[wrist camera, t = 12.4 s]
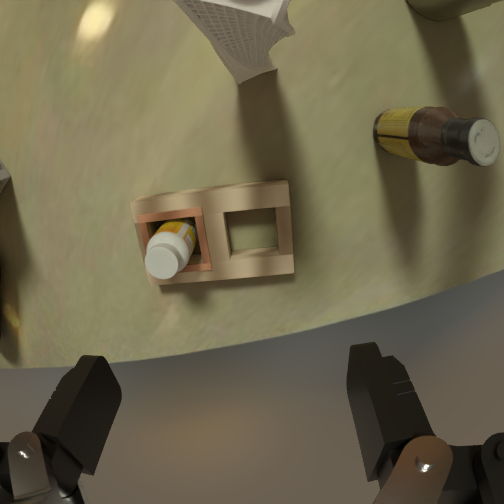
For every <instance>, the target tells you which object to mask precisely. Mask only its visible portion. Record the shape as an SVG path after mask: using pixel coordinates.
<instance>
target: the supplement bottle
mask: <svg viewBox="0 0 504 504" xmlns="http://www.w3.org/2000/svg"><path fill="white" fill-rule="evenodd" d="M197 240H198V233H197V228H196V226H195V225H194V223H193V222H192V221H190V220H189V219H187V218H176V219H168V220H166V221H165V222H164V223H163V224H162V226H161V227H160V228H159V229H158V230H157V232H156V233H155V234H154V235H153V237H152V238H151V239H150V241H149V242H148V245H147V249H146V253H147V254H146V256H145V266H146V269H147V270H148V272H149V273H150V274H151V275H152V276H154V277H156V278H158V279H169V278H171V277H173V276H174V275H175V274H176V273H177V272H179V271H181V270H182V269H183V268H184V267H185V266H186V265H187V263H188V261H189V259H190V257H191V254H192V252H193V250H194V247H195V245H196V243H197Z"/></svg>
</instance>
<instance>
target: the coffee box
mask: <svg viewBox="0 0 504 504" xmlns="http://www.w3.org/2000/svg"><path fill="white" fill-rule="evenodd" d="M10 177H11V176H10V174H9V173H8V171H7V170H6V168H5V166H4V165H3V163H2V162H1V160H0V194H1V192H2V190H3V189H4V187H5V185H6V184H7V182H8V180H9V179H10Z"/></svg>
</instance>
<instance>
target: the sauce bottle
mask: <svg viewBox="0 0 504 504" xmlns="http://www.w3.org/2000/svg"><path fill="white" fill-rule="evenodd" d="M373 129H374V138H375V140H376V141H377V143H378V144H379V146H380V147H381V148H382V149H383V150H385V151H387V152H389V153H392V154H394V155H398V156H402V157H406V158H410V159H414V160H418V161H421V162H425V163H429V164H435V165H439V166H449V165H452V164H454V163H456V162H457V161H458V160H461V159H463V160H467V161H469V162H470V163H471V164H473V165H477V166H483V167H487V166H490V165H492V164H493V163H494V162H495V161H496V159H497V158H498V155H499V152H500V137H499V134H498V131H497V130H496V128H495V127H494V125H493V123H491V122H490V121H489V120H487V119H483V118H471V119H469V120H468V119H461V118H460V117H459V116H458V115H457V114H455V113H454V112H452V111H451V110H449V109H446V108H443V107H430V106H426V107H409V108H396V109H390V110H387V111H384V112H383V113H381V114H380V115H379V116H378V117H377V118H376V120H375V123H374V128H373Z"/></svg>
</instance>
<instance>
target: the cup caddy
mask: <svg viewBox="0 0 504 504" xmlns="http://www.w3.org/2000/svg"><path fill="white" fill-rule="evenodd" d="M130 205H131V210H132V214H133V219H134V223H135V228H136V232H137V236H138V241H139V245H140V249H141V253H142V257H143V261H144V265H145V256H146V254H147V253H146V249H147V245H148V242H149V241H150V239H151V238H152V237H153V235H154V234H155V233H156V232H157V231H156V226H155V221H161V220H168V219H176V218H185V217H193V216H195V221H196V227H197V233H198V239H199V244H200V250H201V254H196V255H191V257H190V259H189V261H188V263H187V265H186V266H185V267H184V268H183V269H182V270H181V271H179V272H177V273H176V274H175V275H174V276H173V277H171V278H169V279H158V278H156V277H154V276H152V275H151V274H150V273H149V272H148V270H147V269H146V272H147V276H148V279H149V283H150V286H151V285H164V284H177V283H190V282H202V281H214V280H225V279H237V278H248V277H259V276H269V275H280V274H290V273H294V259H293V241H292V225H291V211H290V197H289V184H288V182H287V180H286V179H282V180H271V181H260V182H250V183H241V184H232V185H223V186H215V187H206V188H199V189H191V190H184V191H176V192H169V193H163V194H156V195H149V196H143V197H138V198H136V199H135V200H134V201H132V202H131V203H130ZM271 207H275V215H276V227H277V239H278V247H268V248H258V249H247V250H237V251H231V247H230V240H229V232H228V225H227V218H226V212H231V211H241V210H250V209H260V208H271ZM145 268H146V266H145Z"/></svg>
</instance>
